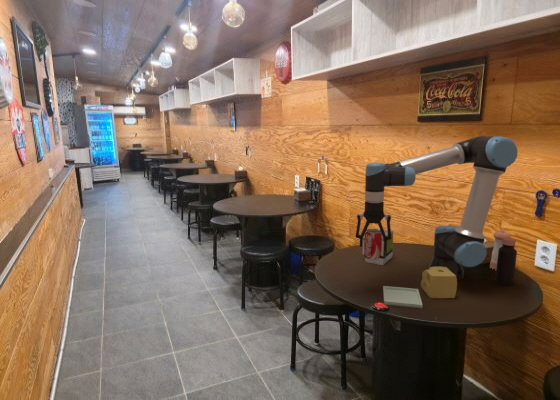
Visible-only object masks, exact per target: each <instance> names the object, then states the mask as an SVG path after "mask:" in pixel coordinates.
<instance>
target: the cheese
mask: <svg viewBox="0 0 560 400" xmlns="http://www.w3.org/2000/svg"><path fill="white" fill-rule="evenodd" d="M421 277H422V278H421V280H420V288H421V289H422V290H423V292H425V294H426V295H427V297H429V299H455V298H456V293H457V289H458V288H457V286H458V280H457V278H456V275H455V274H453V273H452V272H451V271H450V270H449V269H448V268H447V267H430V268H429V270H428V269H425V270H424V271H422V274H421Z"/></svg>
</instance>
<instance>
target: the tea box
mask: <svg viewBox="0 0 560 400" xmlns="http://www.w3.org/2000/svg"><path fill="white" fill-rule="evenodd" d="M376 229H377V230H380V228H376ZM384 232H385V235H386V236H388V231H387V229H384ZM382 239H383V236H382ZM393 249H394V231H393V230H391V239H390V240H387V244H386V248H384V249H383V256H380V258H379V259H377V260H369V259H367V258H366V257H364V262H365V263H370V264H372V265H373V264H375V265H379V266H384V265H385V264H386V263H387V262H388V261H389V260H390V259H392V258H393V257H394V256H393V255H394V254H393V253H394V250H393Z"/></svg>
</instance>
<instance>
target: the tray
mask: <svg viewBox="0 0 560 400" xmlns="http://www.w3.org/2000/svg"><path fill="white" fill-rule="evenodd" d="M382 292H383V305H384V304H385V305H384V306H393V307H394V306H395V307H404V308H412V309H423V302H422V297H421V295H420V290H419V288H409V287H399V286H388V285H386V286H385V285H383V286H382Z"/></svg>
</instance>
